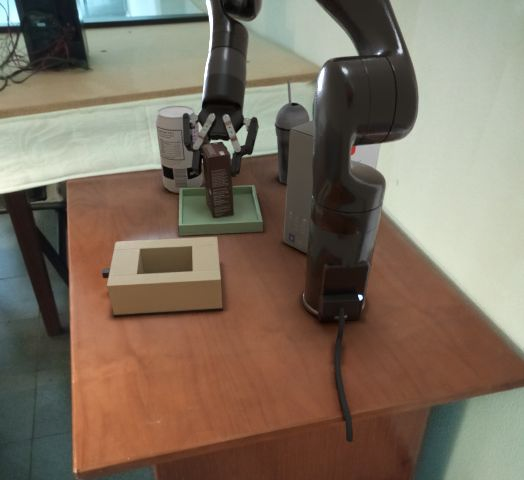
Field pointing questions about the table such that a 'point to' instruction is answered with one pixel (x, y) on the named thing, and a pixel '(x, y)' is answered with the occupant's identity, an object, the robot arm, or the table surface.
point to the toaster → (164, 276)
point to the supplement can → (176, 149)
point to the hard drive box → (309, 182)
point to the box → (218, 179)
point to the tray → (202, 222)
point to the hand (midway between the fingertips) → (215, 174)
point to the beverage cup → (287, 131)
